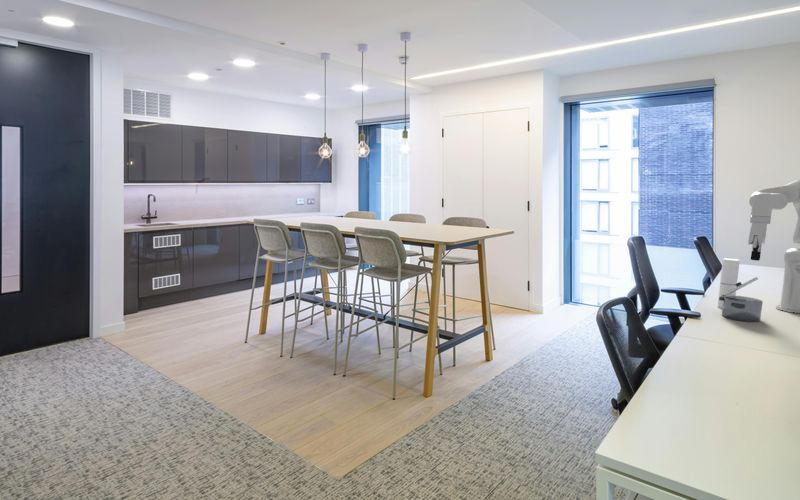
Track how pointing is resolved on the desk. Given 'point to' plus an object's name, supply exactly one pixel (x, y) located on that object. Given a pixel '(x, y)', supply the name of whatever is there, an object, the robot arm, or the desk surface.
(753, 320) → the pot
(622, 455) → the desk surface
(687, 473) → the desk surface
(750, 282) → the lid
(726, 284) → the cylindrical container
